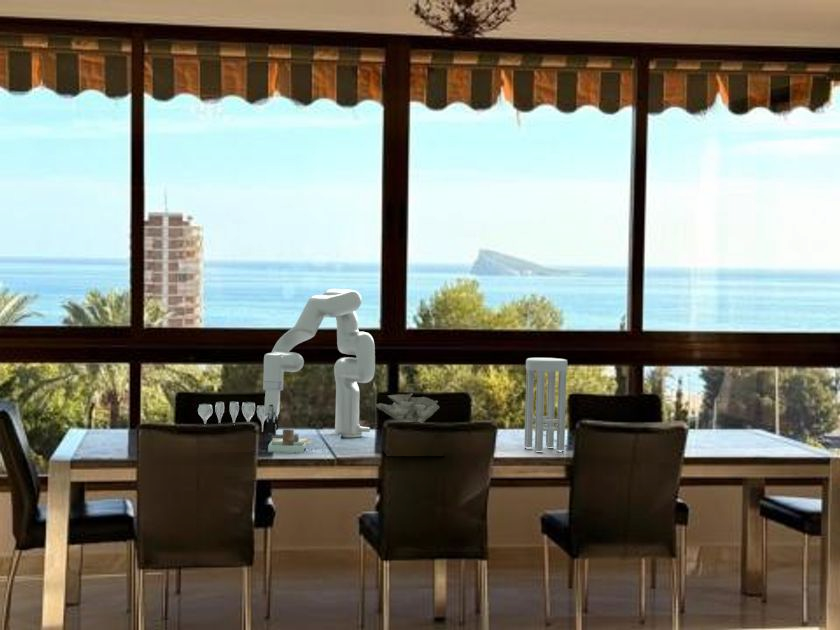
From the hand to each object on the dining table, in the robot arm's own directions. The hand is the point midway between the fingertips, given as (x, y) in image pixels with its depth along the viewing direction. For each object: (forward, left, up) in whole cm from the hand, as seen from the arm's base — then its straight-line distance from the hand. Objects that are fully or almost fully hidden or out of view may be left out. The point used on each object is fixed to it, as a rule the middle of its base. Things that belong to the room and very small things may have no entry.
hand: (272, 431), depth 469 cm
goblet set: (+19, -26, -6) cm, 32 cm away
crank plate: (-7, -2, -5) cm, 9 cm away
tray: (-7, +11, -5) cm, 14 cm away
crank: (-4, 0, -4) cm, 6 cm away
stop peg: (-7, +11, -5) cm, 14 cm away
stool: (-104, -5, -6) cm, 104 cm away
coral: (-52, +9, -6) cm, 53 cm away
